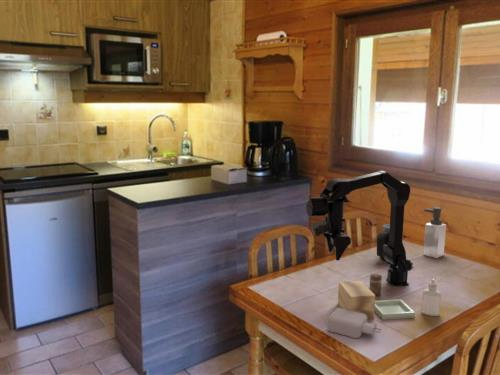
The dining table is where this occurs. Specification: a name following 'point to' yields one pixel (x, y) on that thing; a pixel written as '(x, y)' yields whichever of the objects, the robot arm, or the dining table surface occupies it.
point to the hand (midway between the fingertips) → (333, 255)
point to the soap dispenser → (434, 235)
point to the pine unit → (356, 298)
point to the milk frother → (384, 241)
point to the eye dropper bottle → (431, 300)
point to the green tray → (393, 309)
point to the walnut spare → (375, 284)
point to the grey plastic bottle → (350, 323)
